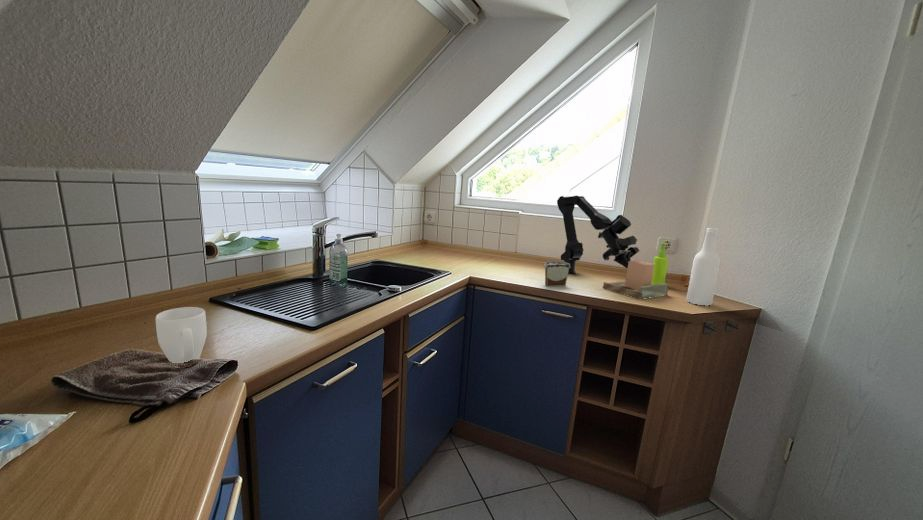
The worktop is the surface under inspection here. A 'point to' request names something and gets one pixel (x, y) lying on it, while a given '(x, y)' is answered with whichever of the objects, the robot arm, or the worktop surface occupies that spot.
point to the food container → (556, 273)
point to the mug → (182, 333)
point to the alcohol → (704, 271)
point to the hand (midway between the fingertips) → (631, 269)
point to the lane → (640, 294)
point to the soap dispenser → (660, 266)
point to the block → (639, 274)
